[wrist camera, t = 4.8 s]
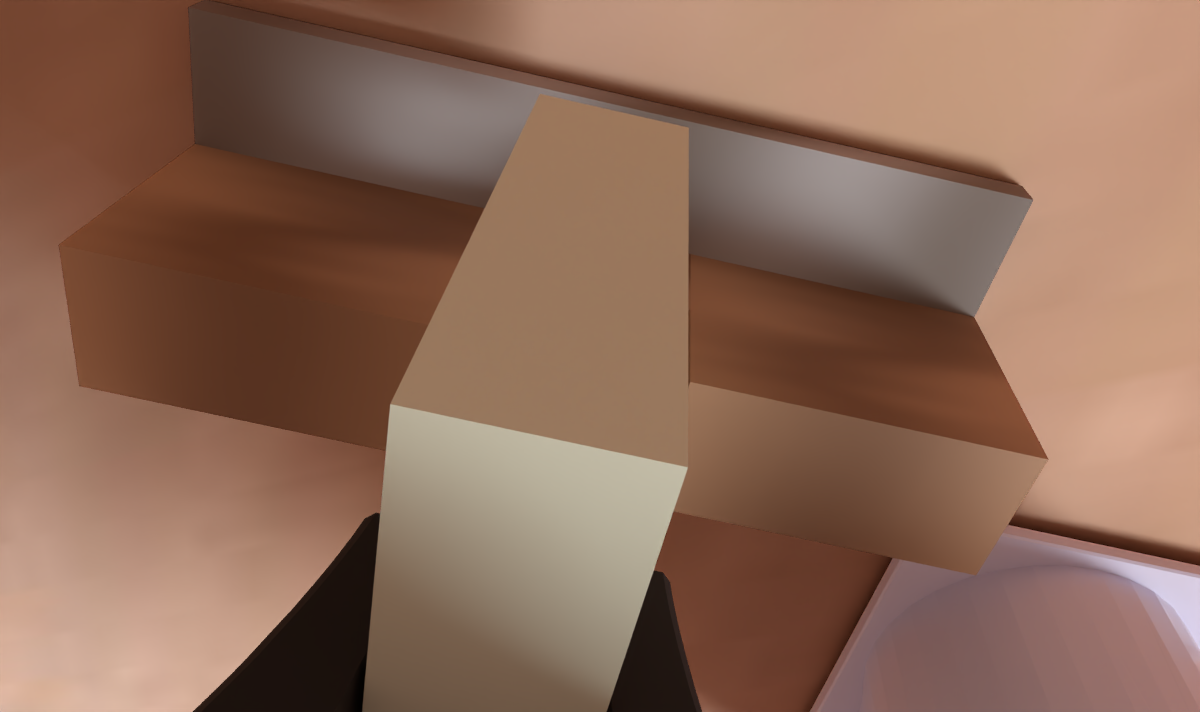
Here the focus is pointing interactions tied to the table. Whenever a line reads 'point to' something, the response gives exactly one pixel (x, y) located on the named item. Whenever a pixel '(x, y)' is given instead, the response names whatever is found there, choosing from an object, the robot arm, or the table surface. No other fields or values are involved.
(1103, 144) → the table surface
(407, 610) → the cream h-shaped block
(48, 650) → the table surface
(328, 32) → the slotted base
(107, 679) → the table surface
